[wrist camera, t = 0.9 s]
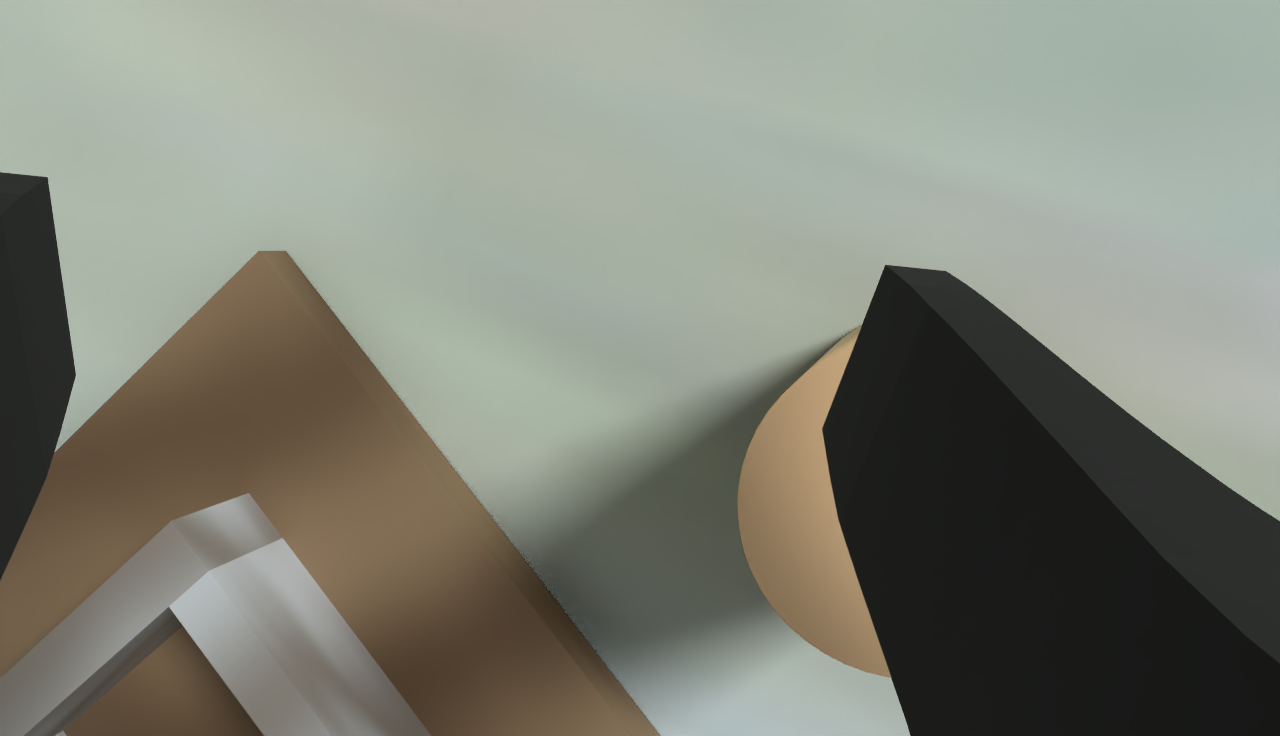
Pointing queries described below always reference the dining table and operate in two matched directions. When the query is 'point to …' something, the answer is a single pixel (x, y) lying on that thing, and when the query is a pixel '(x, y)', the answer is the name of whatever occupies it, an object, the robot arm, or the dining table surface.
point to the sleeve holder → (279, 557)
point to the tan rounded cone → (805, 521)
